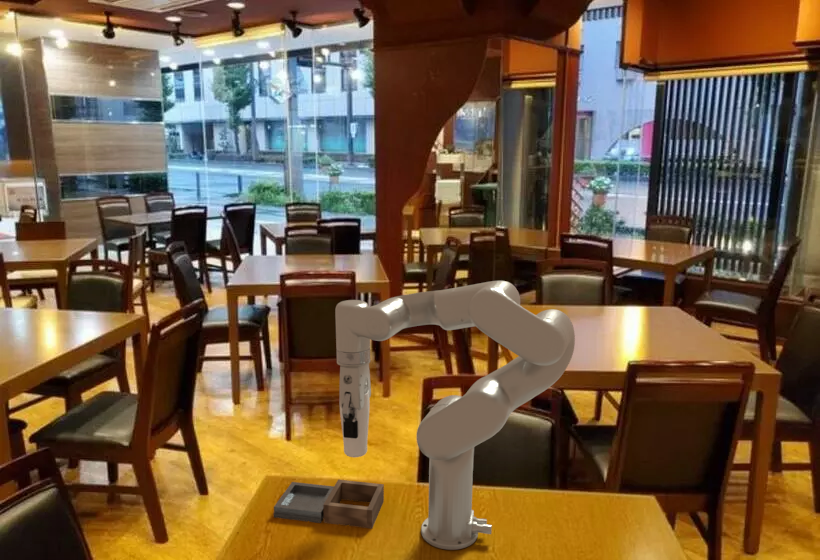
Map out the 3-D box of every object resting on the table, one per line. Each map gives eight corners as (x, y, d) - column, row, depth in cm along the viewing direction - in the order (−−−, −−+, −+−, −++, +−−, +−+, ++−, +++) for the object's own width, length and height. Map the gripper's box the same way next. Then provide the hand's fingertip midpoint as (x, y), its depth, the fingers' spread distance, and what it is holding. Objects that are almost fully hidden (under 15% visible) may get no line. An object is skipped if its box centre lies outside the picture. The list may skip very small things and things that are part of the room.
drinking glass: (335, 456, 141) (333, 393, 138) (351, 444, 146) (349, 384, 144) (360, 462, 137) (358, 398, 135) (375, 450, 143) (374, 389, 141)
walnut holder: (383, 501, 149) (383, 484, 149) (372, 528, 138) (372, 510, 138) (338, 496, 152) (338, 479, 151) (323, 522, 141) (323, 504, 140)
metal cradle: (336, 495, 152) (336, 486, 151) (320, 523, 140) (320, 513, 140) (292, 490, 154) (292, 481, 154) (273, 517, 142) (273, 507, 142)
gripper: (359, 369, 128) (361, 449, 132) (378, 345, 145) (379, 416, 149) (325, 367, 130) (327, 446, 133) (348, 343, 147) (350, 414, 150)
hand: (355, 430), depth 141 cm, fingers closed on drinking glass, 6 cm apart
